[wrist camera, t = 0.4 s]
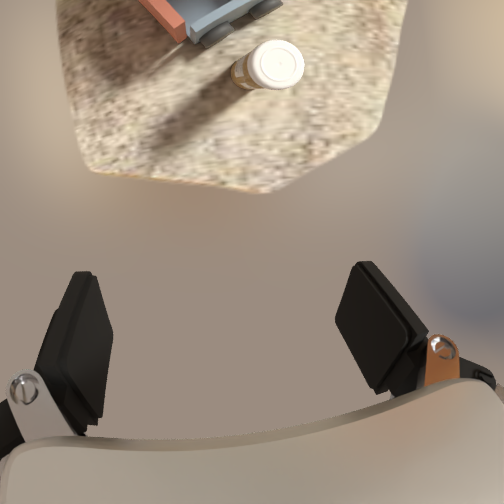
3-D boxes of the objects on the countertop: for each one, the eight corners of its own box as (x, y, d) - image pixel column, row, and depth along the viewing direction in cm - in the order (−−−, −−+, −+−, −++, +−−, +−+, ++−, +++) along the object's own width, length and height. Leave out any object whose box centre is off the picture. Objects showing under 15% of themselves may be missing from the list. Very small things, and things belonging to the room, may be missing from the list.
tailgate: (143, -9, 21) (129, -35, 14) (186, 37, 26) (185, 21, 18) (134, -3, 21) (119, -28, 14) (178, 43, 26) (174, 28, 19)
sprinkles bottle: (248, 96, 32) (278, 100, 21) (222, 72, 30) (239, 62, 19) (273, 73, 31) (316, 67, 20) (249, 49, 29) (280, 28, 18)
